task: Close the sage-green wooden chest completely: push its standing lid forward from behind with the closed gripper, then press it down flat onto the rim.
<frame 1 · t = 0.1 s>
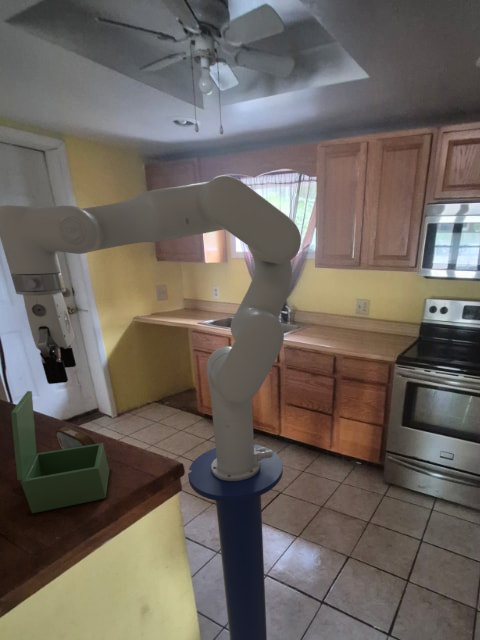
hand: (63, 374, 73), 27 cm above the table, tool pointing down, fingers open, 9 cm apart
tin: (81, 460, 94), on the table
lid: (24, 434, 75), point 15 cm above the table, hinge at 80.0°
chest: (74, 490, 83), on the table
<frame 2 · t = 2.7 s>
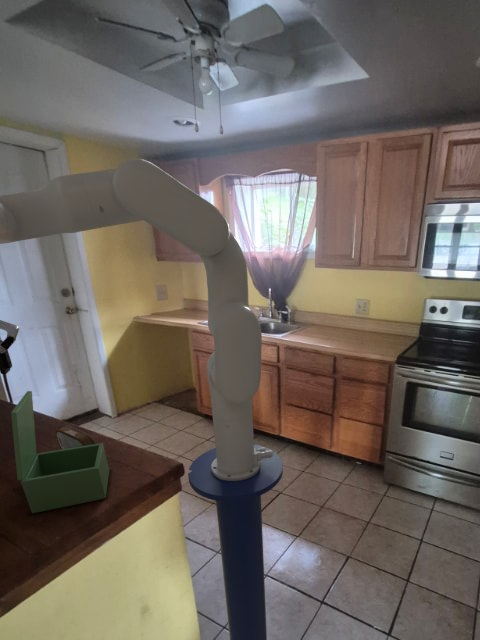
nothing on the table moved.
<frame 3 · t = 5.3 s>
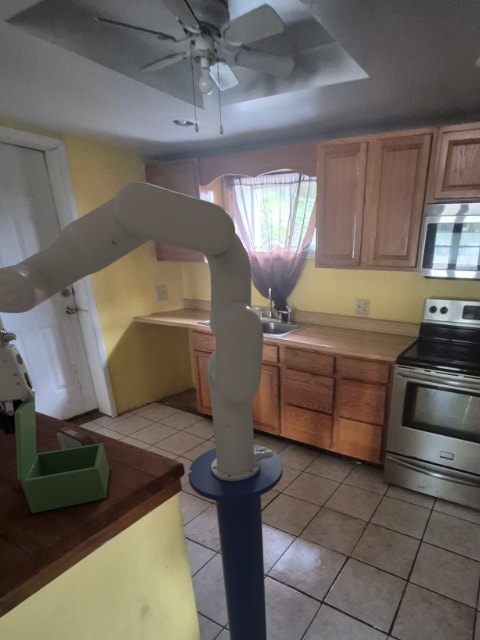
hand: (12, 431, 74), 16 cm above the table, tool pointing down, fingers closed
lid: (26, 434, 75), point 15 cm above the table, hinge at 77.9°, touching gripper
everything else where it was.
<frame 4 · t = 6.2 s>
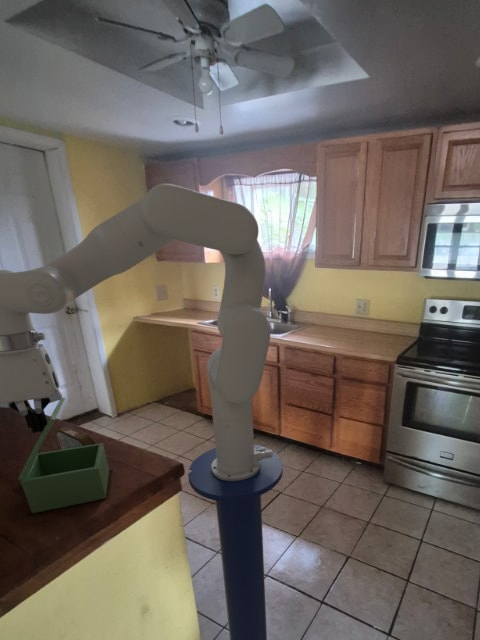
hand: (39, 429, 75), 16 cm above the table, tool pointing down, fingers closed
lid: (42, 436, 76), point 14 cm above the table, hinge at 55.4°, touching gripper
everything else where it was.
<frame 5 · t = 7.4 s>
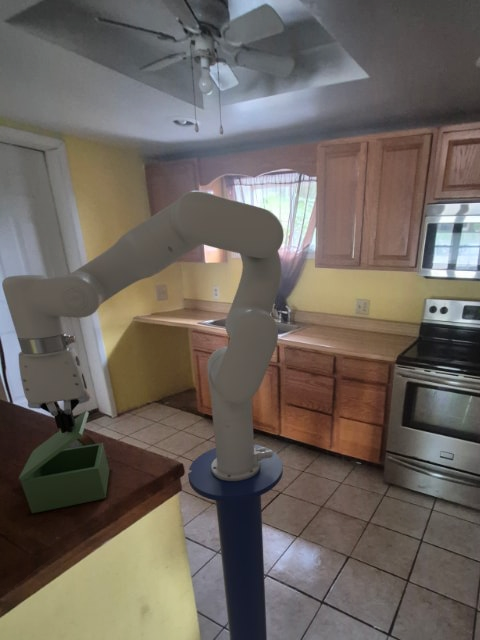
hand: (67, 429, 77), 15 cm above the table, tool pointing down, fingers closed
lid: (56, 443, 77), point 12 cm above the table, hinge at 33.2°, touching gripper
everything else where it was.
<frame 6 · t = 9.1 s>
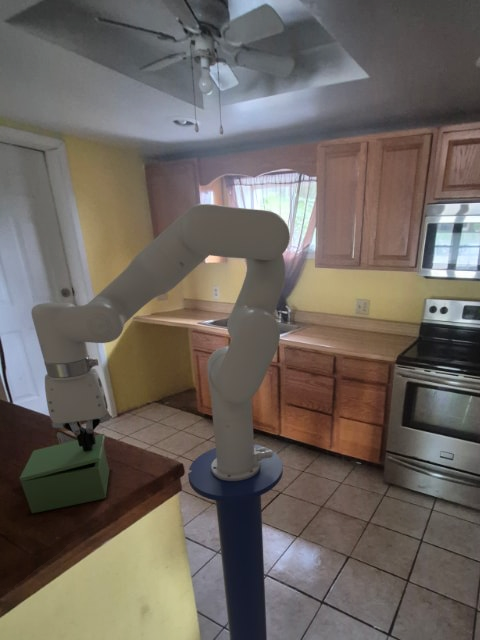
hand: (88, 447, 80), 10 cm above the table, tool pointing down, fingers closed
lid: (66, 455, 79), point 9 cm above the table, hinge at 6.0°, touching gripper
everything else where it was.
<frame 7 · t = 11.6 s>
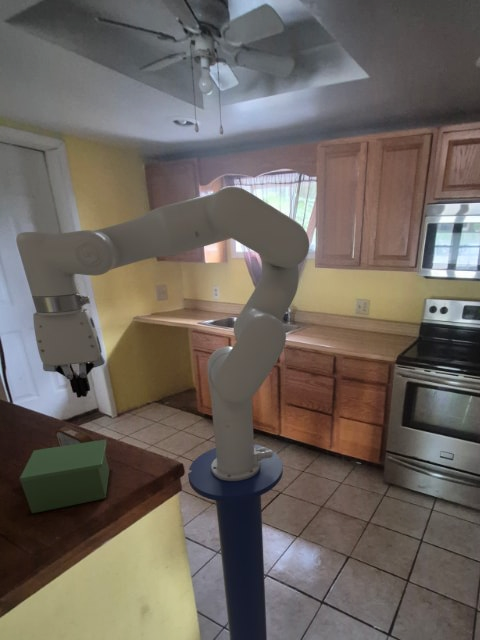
hand: (82, 394, 76), 22 cm above the table, tool pointing down, fingers closed
lid: (67, 458, 79), point 8 cm above the table, hinge at -0.2°, touching chest
everything else where it was.
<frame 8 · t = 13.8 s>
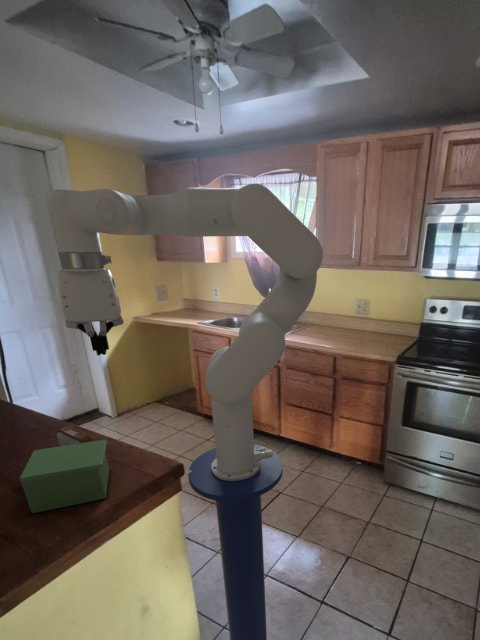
hand: (101, 353, 79), 29 cm above the table, tool pointing down, fingers closed
nothing on the table moved.
at the end: lid at +0° (first picture: +80°); tin moved 0.2 cm from its start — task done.
